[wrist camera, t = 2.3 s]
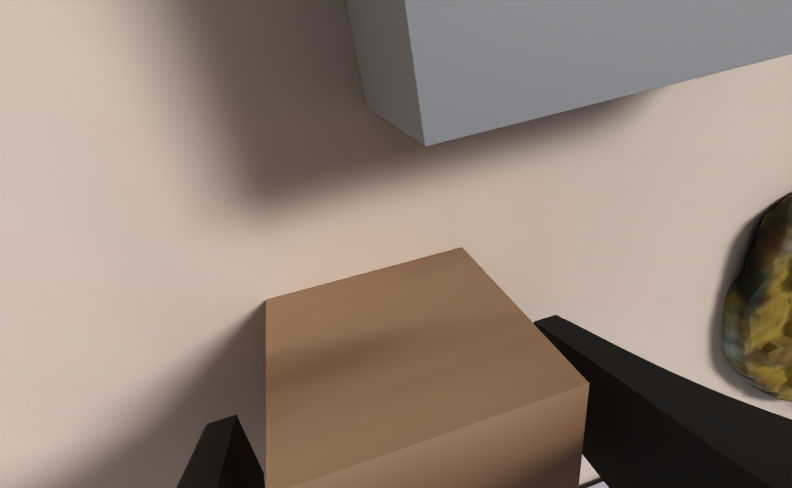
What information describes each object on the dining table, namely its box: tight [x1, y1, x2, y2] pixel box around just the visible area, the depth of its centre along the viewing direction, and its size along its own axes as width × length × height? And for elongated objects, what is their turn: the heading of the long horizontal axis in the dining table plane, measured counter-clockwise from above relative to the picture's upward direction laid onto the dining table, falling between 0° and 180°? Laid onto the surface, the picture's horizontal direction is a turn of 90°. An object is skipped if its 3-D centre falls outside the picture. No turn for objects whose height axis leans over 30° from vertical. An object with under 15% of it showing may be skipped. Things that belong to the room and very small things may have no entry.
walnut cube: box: [266, 247, 589, 488], centre depth 9 cm, size 5×5×5 cm
